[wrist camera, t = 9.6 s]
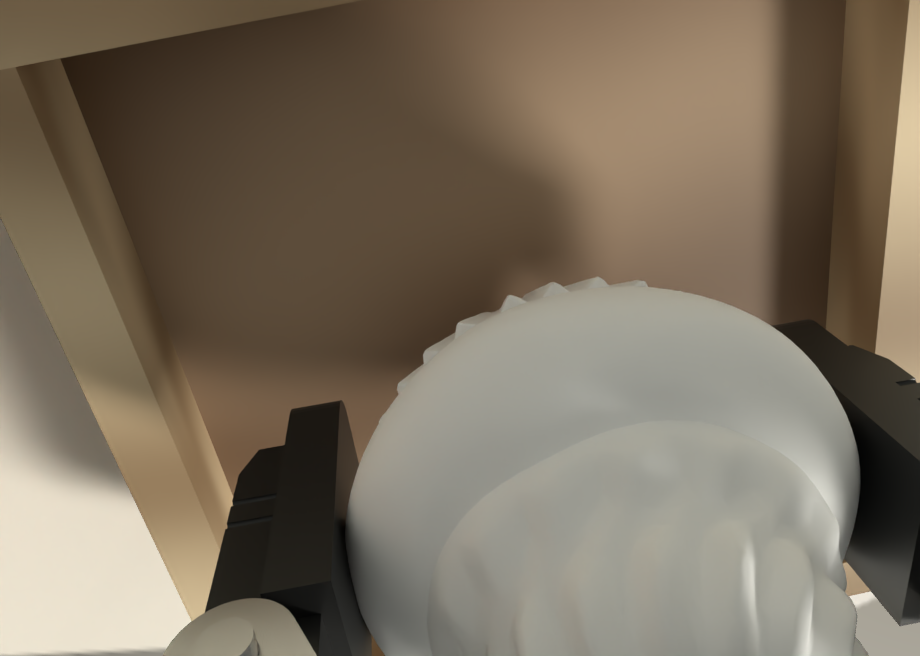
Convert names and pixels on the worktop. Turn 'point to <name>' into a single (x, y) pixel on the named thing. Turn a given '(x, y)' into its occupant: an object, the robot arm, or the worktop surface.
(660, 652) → the white ribbed cup
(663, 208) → the wooden tray
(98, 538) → the worktop surface
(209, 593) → the robot arm
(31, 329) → the worktop surface
